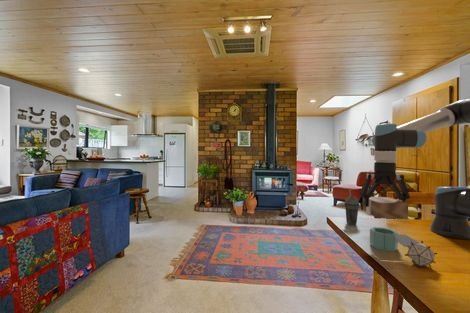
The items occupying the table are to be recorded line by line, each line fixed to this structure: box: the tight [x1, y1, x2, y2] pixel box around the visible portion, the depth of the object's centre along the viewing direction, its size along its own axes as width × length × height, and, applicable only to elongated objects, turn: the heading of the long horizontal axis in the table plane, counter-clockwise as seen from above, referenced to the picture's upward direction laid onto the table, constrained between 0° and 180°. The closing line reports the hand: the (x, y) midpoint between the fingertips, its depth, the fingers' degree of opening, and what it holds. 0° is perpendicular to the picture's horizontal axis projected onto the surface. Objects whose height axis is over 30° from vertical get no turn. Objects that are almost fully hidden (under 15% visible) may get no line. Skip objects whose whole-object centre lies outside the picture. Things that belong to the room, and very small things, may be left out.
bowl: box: [369, 226, 399, 252], centre depth 96 cm, size 9×9×7 cm
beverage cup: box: [344, 188, 360, 227], centre depth 126 cm, size 7×7×20 cm
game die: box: [404, 240, 438, 269], centre depth 81 cm, size 9×8×10 cm
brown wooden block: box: [362, 196, 409, 220], centre depth 96 cm, size 11×13×6 cm
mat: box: [398, 233, 420, 248], centre depth 104 cm, size 9×15×1 cm, turn 174°
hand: (383, 215), depth 96 cm, fingers closed on brown wooden block, 11 cm apart
